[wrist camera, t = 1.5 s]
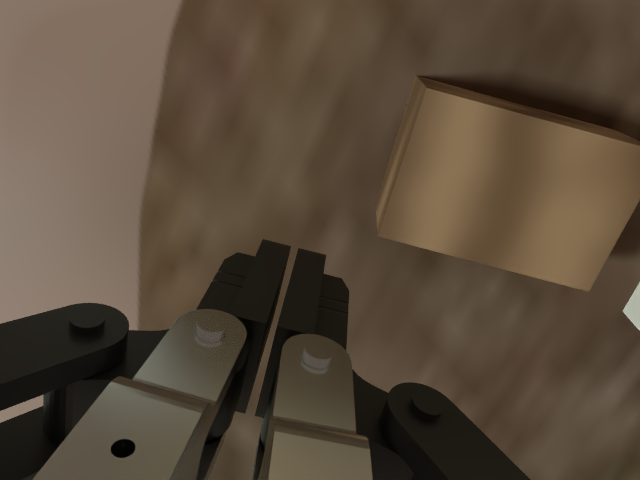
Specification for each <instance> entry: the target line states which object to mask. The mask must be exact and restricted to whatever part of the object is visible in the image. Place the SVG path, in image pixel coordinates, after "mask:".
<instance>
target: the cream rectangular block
mask: <svg viewBox="0 0 640 480" xmlns="http://www.w3.org/2000/svg"><path fill="white" fill-rule="evenodd" d="M623 312H624V314H625V315H626V316H627V317H628V318H629V319H630V320H631V322H632V323H633V324H634V325H635V326H636V327H637V328H638V330H639V331H640V283H639V284H638V286H637V288H636V289H635V291H634V293H633V294H632V296H631V298H630V300H629V301H628V303H627V305H626V306H625V308H624V310H623Z"/></svg>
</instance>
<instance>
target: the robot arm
mask: <svg viewBox="0 0 640 480" xmlns="http://www.w3.org/2000/svg"><path fill="white" fill-rule="evenodd" d="M290 248H291V246H288V245H284V244H280V243H276V242H272V241H268V240H264V239H263V240H262V243H261V245H260V247H259V249H258V252H257V254H256V256H255V257H254V256H250V255H246V254H242V253H236V254H234V255H232V256H230V257H228V258H227V259H225V260H224V261H223V263H222V265H221V267H220V268H219V270H218V273H217V274H216V275H215V277H214V279H213V282H212V283H211V284H210V286H209V288H208V290H207V291H206V293H205V295H204V297H203V298H202V300H201V302H200V304H199V306H198V307H197V309H196V310H192V311H189V312H187V313H185V314H183V315H181V316H180V317H179V318H178V319H177V320H176V321H175V323H174V324H173V325H172V327H171V328H170V329H167V330H161V331H135V330H129V322H128V320H127V318H126V316H125V315H124V314H123V313H121V312H120V311H119V310H117V309H115V308H113V307H110V306H107V305H103V304H97V303H81V304H74V305H69V306H66V307H62V308H58V309H54V310H51V311H47V312H43V313H40V314H36V315H32V316H28V317H25V318H21V319H17V320H13V321H9V322H6V323H2V324H0V411H1V410H4V409H6V408H9V407H12V406H14V405H17V404H19V403H22V402H25V401H27V400H30V399H32V398H35V397H38V396H40V395H43V394H44V403H43V404H44V405H43V406H42V407H39V408H37V409H34V410H32V411H29V412H27V413H24V414H22V415H19V416H17V417H14V418H12V419H9V420H7V421H4V422H2V423H0V480H208V478H209V476H210V473H211V471H212V469H213V466H214V464H215V461H216V459H217V456H218V454H219V452H220V449H221V447H222V444H223V442H224V438H225V433H226V431H227V429H228V428H229V426H230V424H231V421H232V418H233V415H234V412H235V411H237V412H241V413H245V412H246V409H247V405H248V402H249V399H250V395H251V392H252V389H253V385H254V382H255V378H256V375H257V372H258V368H259V365H260V362H261V358H262V355H263V351H264V348H265V345H266V341H267V338H268V334H269V331H270V328H271V324H272V321H273V317H274V314H275V310H276V306H277V302H278V298H279V294H280V290H281V286H282V281H283V277H284V273H285V269H286V265H287V261H288V257H289V252H290ZM325 259H326V255H324V254H320V253H316V252H312V251H308V250H304V249H300V248H299V249H298V252H297V256H296V260H295V263H294V267H293V270H292V274H291V278H290V281H289V285H288V289H287V292H286V296H285V299H284V303H283V307H282V310H281V314H280V318H279V321H278V325H277V329H276V333H275V337H274V341H273V345H272V349H271V353H270V357H269V361H268V365H267V369H266V373H265V377H264V381H263V385H262V389H261V393H260V398H259V402H258V406H257V410H256V414H255V416H258V417H262V418H264V420H263V424H262V428H261V432H260V436H259V440H258V444H257V448H256V452H255V458H254V464H253V470H252V476H251V480H530V479H529V478H528V477H527V476H526V475H525V474H524V473H523V472H522V471H521V470H520V469H519V468H518V467H517V466H516V465H515V464H514V463H513V462H512V461H511V460H510V459H509V458H508V457H507V456H506V455H505V454H504V453H503V452H502V451H501V450H500V449H499V448H498V447H497V446H496V445H495V444H494V443H493V442H492V441H491V440H490V439H489V438H488V437H487V436H486V435H485V434H484V433H483V432H482V431H481V430H480V429H479V428H478V427H477V426H476V425H475V424H474V423H473V422H472V421H471V420H470V419H469V418H468V417H467V416H466V415H465V414H464V413H463V412H462V411H460V410H459V409H458V408H457V407H456V406H455V405H454V404H453V403H452V402H451V401H450V400H449V399H448V398H447V397H446V396H444V395H443V394H442V393H440V392H439V391H437V390H435V389H433V388H431V387H429V386H426V385H423V384H418V383H401V384H398V385H396V386H395V387H393V388H392V389H391V390H390V392H389V393H387V392H385V391H383V390H381V389H379V388H377V387H375V386H373V385H371V384H369V383H368V382H366V381H365V380H363V379H362V378H361V377H360V376H358V375H357V374H356V373H355V372H354V370H353V369H352V361H351V358H350V356H349V354H348V353H347V351H346V344H347V324H348V303H349V290H348V288H347V287H346V285H345V283H344V282H343V280H342V278H338V277H334V276H330V275H326V274H323V272H324V265H325Z"/></svg>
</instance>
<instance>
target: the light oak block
mask: <svg viewBox="0 0 640 480" xmlns="http://www.w3.org/2000/svg"><path fill="white" fill-rule="evenodd" d="M639 201H640V141H638V140H636V139H634V138H632V137H629V136H627V135H625V134H623V133H621V132H619V131H616V130H613V129H609V128H606V127H602V126H599V125H595V124H591V123H588V122H584V121H580V120H577V119H573V118H569V117H566V116H562V115H558V114H555V113H551V112H547V111H544V110H540V109H536V108H533V107H529V106H525V105H522V104H518V103H514V102H511V101H507V100H504V99H500V98H496V97H493V96H489V95H485V94H482V93H478V92H474V91H471V90H467V89H463V88H460V87H456V86H452V85H449V84H445V83H441V82H438V81H434V80H430V79H427V78H423V77H419V76H416V78H415V81H414V84H413V87H412V90H411V93H410V96H409V100H408V103H407V106H406V109H405V112H404V115H403V118H402V122H401V125H400V128H399V131H398V134H397V137H396V140H395V144H394V147H393V150H392V153H391V156H390V159H389V162H388V166H387V169H386V172H385V175H384V178H383V181H382V184H381V188H380V191H379V194H378V197H377V200H376V216H377V231H378V236H379V237H383V238H386V239H390V240H394V241H398V242H402V243H405V244H409V245H413V246H417V247H421V248H424V249H428V250H432V251H436V252H440V253H443V254H447V255H451V256H455V257H459V258H463V259H466V260H470V261H474V262H478V263H482V264H485V265H489V266H493V267H497V268H501V269H504V270H508V271H512V272H516V273H520V274H524V275H527V276H531V277H535V278H539V279H543V280H546V281H550V282H554V283H558V284H562V285H565V286H569V287H573V288H577V289H581V290H584V291H588V292H589V290H590V288H591V287H592V285H593V283H594V281H595V279H596V278H597V276H598V274H599V272H600V270H601V269H602V267H603V265H604V263H605V261H606V260H607V258H608V256H609V254H610V253H611V251H612V249H613V247H614V245H615V244H616V242H617V240H618V238H619V236H620V235H621V233H622V231H623V229H624V227H625V226H626V224H627V222H628V220H629V219H630V217H631V215H632V213H633V211H634V210H635V208H636V206H637V204H638V202H639Z"/></svg>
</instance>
